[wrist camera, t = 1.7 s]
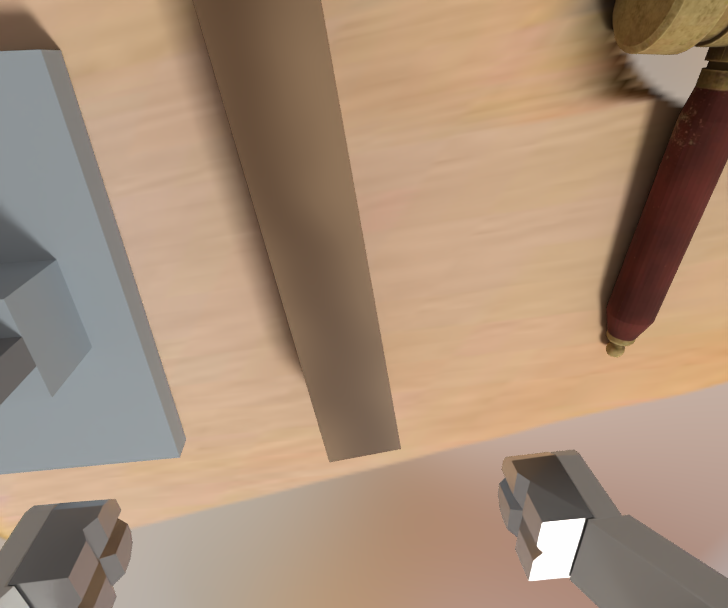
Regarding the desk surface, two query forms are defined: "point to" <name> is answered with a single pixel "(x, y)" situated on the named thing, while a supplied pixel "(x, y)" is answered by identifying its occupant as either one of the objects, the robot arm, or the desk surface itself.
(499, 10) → the desk surface
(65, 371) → the ridge stand
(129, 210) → the desk surface
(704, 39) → the gavel
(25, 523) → the robot arm
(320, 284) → the bar
